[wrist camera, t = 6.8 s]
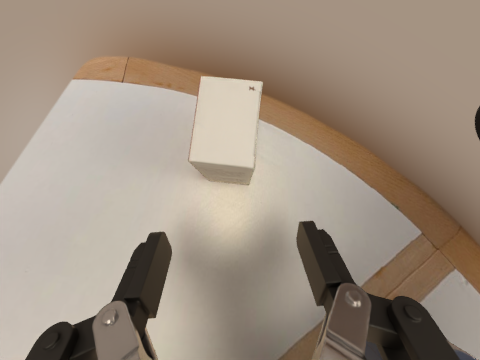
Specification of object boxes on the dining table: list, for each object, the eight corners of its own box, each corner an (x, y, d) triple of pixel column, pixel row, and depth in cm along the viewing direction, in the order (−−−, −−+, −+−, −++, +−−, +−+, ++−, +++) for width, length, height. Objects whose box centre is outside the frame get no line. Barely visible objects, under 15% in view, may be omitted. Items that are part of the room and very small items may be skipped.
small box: (215, 125, 28) (199, 72, 17) (255, 129, 27) (263, 78, 17) (207, 181, 26) (185, 161, 16) (249, 186, 26) (254, 168, 16)
